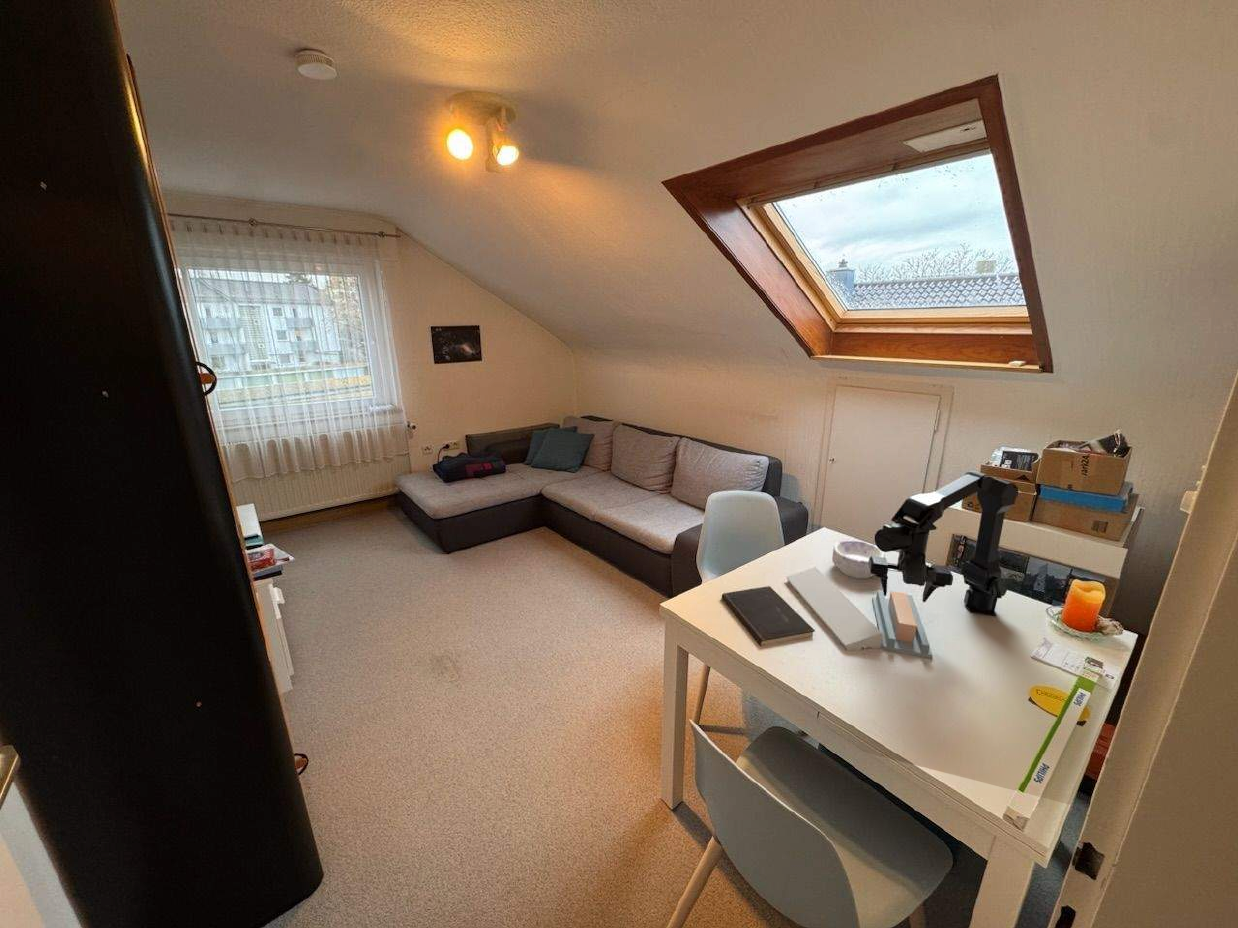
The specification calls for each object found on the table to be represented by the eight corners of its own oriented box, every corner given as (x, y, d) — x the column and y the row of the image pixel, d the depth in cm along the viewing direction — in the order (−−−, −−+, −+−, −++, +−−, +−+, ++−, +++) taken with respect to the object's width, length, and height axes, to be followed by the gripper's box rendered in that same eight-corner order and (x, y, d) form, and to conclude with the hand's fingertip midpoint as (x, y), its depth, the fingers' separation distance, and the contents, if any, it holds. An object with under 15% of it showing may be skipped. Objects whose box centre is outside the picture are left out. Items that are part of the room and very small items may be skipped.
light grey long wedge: (847, 659, 128) (884, 647, 129) (845, 645, 127) (882, 632, 127) (788, 589, 161) (817, 579, 161) (786, 576, 159) (815, 566, 159)
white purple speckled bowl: (843, 584, 158) (846, 561, 155) (823, 560, 172) (826, 539, 170) (891, 583, 158) (894, 560, 156) (867, 560, 172) (870, 539, 170)
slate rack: (913, 606, 146) (915, 595, 145) (931, 658, 124) (934, 646, 123) (872, 599, 149) (873, 589, 148) (882, 649, 128) (884, 637, 127)
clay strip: (903, 608, 143) (906, 593, 141) (913, 642, 128) (916, 625, 127) (888, 606, 144) (890, 591, 143) (895, 639, 130) (898, 622, 128)
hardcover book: (769, 592, 155) (769, 585, 154) (814, 637, 133) (815, 630, 133) (721, 600, 151) (721, 593, 150) (760, 647, 130) (760, 640, 129)
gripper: (877, 553, 125) (868, 608, 130) (964, 565, 119) (951, 622, 124) (872, 535, 135) (864, 586, 140) (952, 545, 129) (941, 598, 134)
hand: (903, 598), depth 134 cm, fingers open, 9 cm apart
